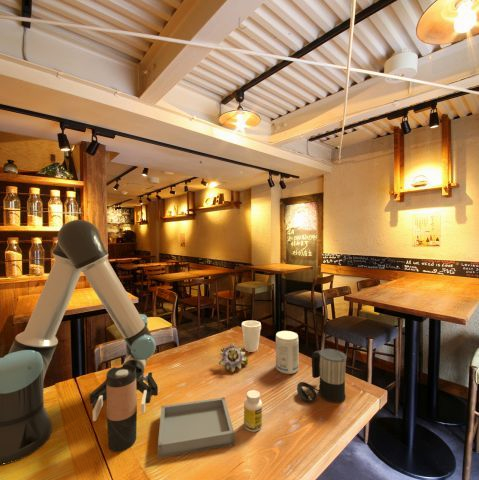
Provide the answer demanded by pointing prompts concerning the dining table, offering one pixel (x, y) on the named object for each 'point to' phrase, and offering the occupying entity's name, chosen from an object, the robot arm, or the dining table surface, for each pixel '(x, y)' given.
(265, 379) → the dining table surface
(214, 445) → the tray
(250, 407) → the supplement bottle
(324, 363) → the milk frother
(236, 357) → the passion flower
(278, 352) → the supplement tub
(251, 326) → the foam cup
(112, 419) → the travel mug
